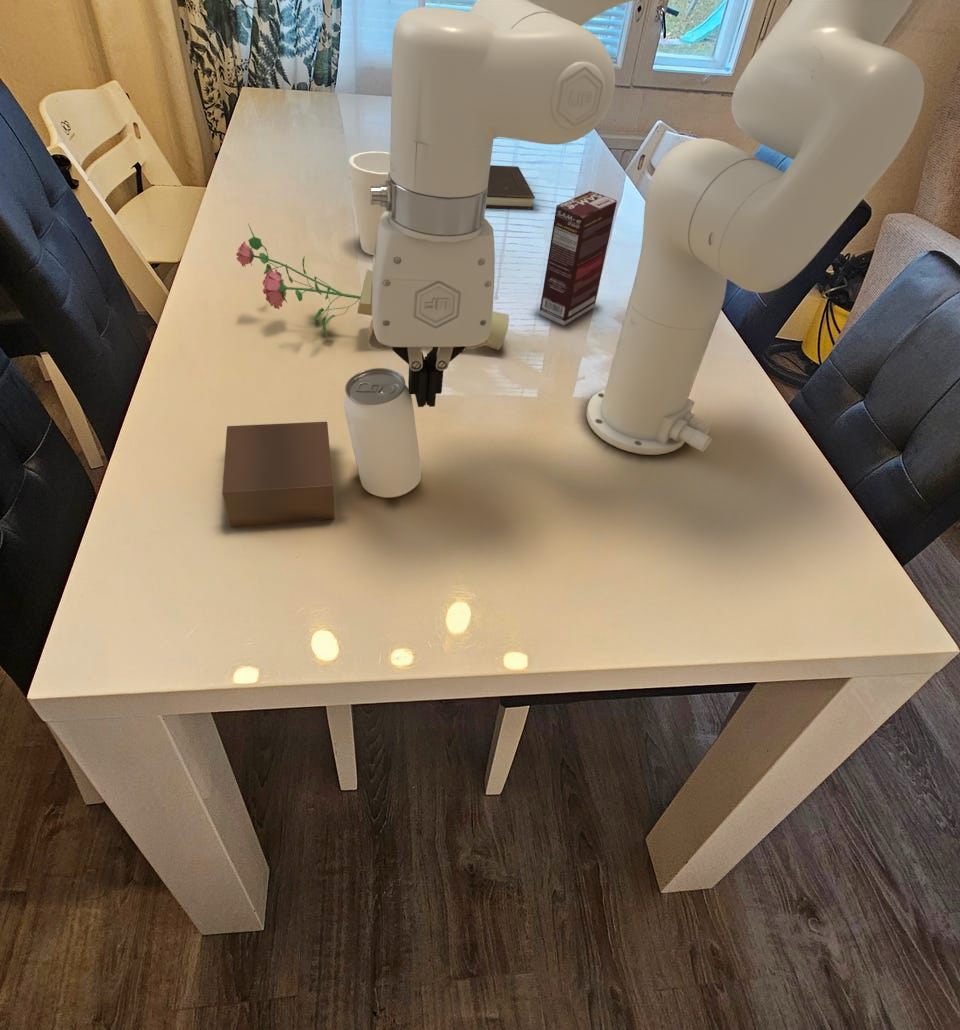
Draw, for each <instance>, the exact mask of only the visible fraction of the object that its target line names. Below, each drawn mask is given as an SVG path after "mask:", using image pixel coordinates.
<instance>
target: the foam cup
mask: <svg viewBox="0 0 960 1030" xmlns="http://www.w3.org/2000/svg"><path fill="white" fill-rule="evenodd" d="M348 173H349V174H348V178H349V180H350V183H351V189H352V197H353V203H354V208H355V215H356V222H357V229H358V234H359V235H358V236H359V242H360V247H361V249H362V251H363V252H364V253H366V254H367V255H371V256H374V250H375V243H376V237H377V232H378V227H379V223H380V219H381V216H382V214H383V213H384V212H385V211H386V208H385V207H381V206H380V205H371V202H370V186H380V184H385V180H388V173H390V152H388V151H373V150H372V151H364V152H358V153H356V154H353V155H351V156H350V157H349V159H348Z"/></svg>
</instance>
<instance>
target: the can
mask: <svg viewBox="0 0 960 1030" xmlns="http://www.w3.org/2000/svg"><path fill="white" fill-rule="evenodd" d="M344 387H345V388H344V391H345V395H344V399H343V407H344V413H345V418H346V421H347V427H348V431H349V436H350V440H351V445H352V449H353V454H354V458H355V462H356V468H357V471H358V475H359V480H360V484H361V486H362V487H363V489H364V490H365V491H366V492H367V493H369V494H370V495H373V496H376V497H379V498H384V499H392V498H398V497H402V496H404V495H406V494H408V493H410V492H411V491H413V490H414V489H415V488H416V487H417V486H418V484H419V483H420V481H421V479H422V465H421V457H420V449H419V443H418V442H419V441H418V433H417V432H418V431H417V425H416V418H415V417H416V416H415V411H414V404H413V403H414V402H413V397H412V394H410V393H409V388H408V385H406V380H405V378H404V376H403V375H402V374H401V373H400V372H398V371H396V370H394V369H392V368H391V369H390V368H385V367H373V368H368V369H364V370H362V371H360V372H357V373H355V374H354V375H352V376H351V377H350V378H349V379H348V380H347V382H346V383H345V386H344Z"/></svg>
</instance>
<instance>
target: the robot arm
mask: <svg viewBox="0 0 960 1030" xmlns="http://www.w3.org/2000/svg"><path fill="white" fill-rule="evenodd" d="M633 1H634V0H476V1H475V2H474V4H473V5H472V7H471V8H470V10H469V11H466V10H462V9H455V8H449V7H439V6H438V7H435V6H434V7H433V6H423V7H415V8H411V9H409V10H405V12H403V14H400V16H399V18H398V20H397V21H396V22H395V25H394V29H393V34H392V47H391V48H392V49H391V51H392V52H391V55H392V56H391V95H390V99H391V101H390V108H391V109H390V147H389V148H390V149H389V153H390V173H388V180H385V184H380V186H370V202H371V205H380V206H381V207H385V208H386V211H385V212H384V213H383V214H382V216H381V219H380V223H379V227H378V232H377V237H376V243H375V250H374V255H373V259H372V269H371V271H372V282H371V314H372V317H371V321H370V325H369V329H368V331H367V339H368V345H369V346H370V347H371V348H374V349H380V350H384V351H393V352H394V353H395V354H396V355H397V356H398V357H399V358H400V359H402V360H403V362H405V363H406V364H407V365H408V378H407V379H408V381H407V382H408V383H407V387H408V389H409V393H410V394H411V395H414V396H415V400H416V405H417V407H418V408H424V407H425V406H428V407H430V408H431V407H433V408H434V407H436V399H437V398H436V397H437V395H440V394H442V393H443V392H442V391H443V380H444V371H446V370H447V369H448V368H449V365H450V363H451V361H453V360H454V359H455V358H456V357H458V356H459V355H460V354H461V353H463V352H464V351H465V350H472V349H476V348H481V347H484V346H485V345H486V344H487V339H488V337H489V334H490V330H491V323H492V313H493V311H494V295H495V293H494V292H495V275H496V274H495V273H496V272H495V269H496V268H495V267H496V263H495V262H496V257H495V256H496V255H495V254H496V252H495V235H494V228H493V226H492V225H491V224H490V222H489V221H488V220H487V218H485V217H486V209H487V208H486V199H487V191H488V180H489V171H490V165H491V163H492V154H493V145H494V139H496V138H503V139H511V140H518V141H524V142H528V143H535V144H542V145H563V144H564V145H565V144H569V143H571V142H575V141H578V140H580V139H582V138H584V137H585V136H587V135H588V134H590V133H591V132H592V131H594V130H595V129H596V128H597V127H598V126H599V125H600V124H601V122H602V121H603V120H604V119H605V116H606V115H607V113H608V112H609V110H610V107H611V105H612V103H613V99H614V95H615V91H616V72H615V68H614V63H613V61H612V58H611V57H612V56H611V55H610V53H609V52H608V50H607V48H606V46H605V45H604V44H603V43H602V41H601V40H600V39H599V38H598V37H597V36H595V34H593V32H591V31H590V30H588V29H587V28H585V27H584V26H583V25H585V24H586V23H587V22H589V21H591V20H592V19H594V18H595V17H597V16H599V15H602V14H603V13H605V12H606V11H607V12H608V10H611V9H613V8H615V7H618V6H621V5H623V4H627V3H629V2H633ZM913 1H914V0H791V2H790V3H789V5H788V6H787V8H786V9H785V11H784V12H783V14H782V15H781V16H780V18H779V19H778V20H777V22H776V23H775V25H774V26H773V27H772V29H771V31H770V32H769V33H768V35H767V36H766V38H765V39H763V40H764V41H762V43H761V45H760V46H759V48H758V49H757V50H756V52H755V54H754V55H752V58H751V59H750V61H749V62H748V64H747V65H746V67H745V69H744V71H743V72H742V73H741V75H740V78H739V79H738V81H737V83H736V85H735V88H734V90H733V92H732V93H733V94H732V96H731V105H730V108H731V110H730V111H731V115H732V117H733V120H734V123H735V124H736V125H737V127H738V128H739V129H740V130H741V131H742V132H743V133H744V134H746V135H747V136H748V137H749V138H751V139H752V140H754V141H756V142H758V143H759V144H761V145H763V146H765V147H767V148H768V149H770V150H773V151H775V152H777V153H779V154H782V155H783V156H785V157H787V158H789V159H791V160H792V161H791V163H790V164H789V166H788V167H787V169H786V170H785V171H782V170H780V169H778V168H776V167H774V166H772V165H770V164H768V163H767V162H766V161H764V160H762V159H760V158H759V157H756V156H755V155H753V154H752V153H748V152H747V151H746V150H742V149H741V148H738V147H737V146H734V145H733V144H730V143H727V142H725V141H722V140H719V139H714V138H710V137H703V138H702V137H698V138H691V139H689V140H685V141H683V142H681V143H679V144H678V145H676V146H674V147H673V148H672V149H670V150H669V151H668V152H667V153H666V154H665V155H664V156H663V158H662V159H661V160H660V161H659V163H658V164H657V166H656V167H655V170H654V171H653V173H652V175H651V179H650V180H649V183H648V187H647V192H646V197H645V202H644V212H643V226H642V238H641V239H642V240H641V247H640V254H639V259H638V264H637V269H636V272H635V277H634V281H633V285H632V289H631V292H630V296H629V299H628V303H627V306H626V309H625V310H626V311H625V314H624V318H623V321H622V325H621V329H620V332H619V337H618V340H617V344H616V347H615V351H614V355H613V359H612V362H611V366H610V370H609V374H608V377H607V381H606V385H605V388H603V389H601V390H600V391H597V392H596V393H595V394H593V396H592V397H591V398H590V399H589V401H588V404H587V407H586V412H585V413H586V415H585V416H586V421H587V422H588V425H589V427H590V428H591V430H592V431H593V432H594V433H595V434H596V435H597V436H598V437H599V438H600V439H602V440H603V441H604V442H606V443H608V444H609V445H611V446H613V447H616V448H618V449H620V450H622V451H625V452H627V453H632V454H638V455H646V456H653V455H656V456H657V455H658V456H659V455H663V454H668V453H670V452H671V453H672V452H674V451H676V450H678V449H680V448H681V447H682V446H683V445H684V444H685V443H686V444H688V445H689V446H691V447H692V448H694V449H697V450H698V451H700V452H703V453H704V452H705V451H706V450H707V448H708V447H709V445H710V443H711V440H712V436H710V435H708V432H709V431H710V429H711V424H709V423H707V422H705V421H703V420H700V419H698V418H696V417H695V416H694V413H692V410H693V408H694V406H695V401H694V400H692V399H690V395H691V392H692V389H693V386H694V383H695V381H696V378H697V375H698V372H699V370H700V367H701V364H702V362H703V360H704V356H705V354H706V351H707V348H708V345H709V343H710V340H711V337H712V335H713V332H714V329H715V327H716V324H717V321H718V320H719V318H720V317H719V316H720V314H721V312H722V308H723V306H724V301H725V298H726V294H727V293H726V292H727V284H728V283H727V282H728V281H730V282H731V283H733V284H734V285H736V286H737V287H739V288H741V289H743V290H745V291H748V292H751V293H756V294H757V293H758V294H762V293H769V292H772V291H773V292H774V291H775V290H778V289H780V288H782V287H783V286H785V285H787V284H788V283H790V282H791V281H792V280H793V279H795V278H796V277H797V276H798V275H799V274H800V273H801V272H803V270H804V269H805V268H806V267H807V266H808V265H809V264H810V262H812V260H813V259H814V258H815V257H816V256H817V254H818V253H819V252H820V251H821V249H822V248H823V247H824V246H825V245H826V244H827V243H828V241H829V240H830V239H831V238H832V236H834V234H835V233H836V232H837V230H839V228H840V227H841V226H842V225H843V224H844V222H845V221H846V220H847V218H848V217H849V216H850V215H851V214H852V213H853V211H855V209H856V208H857V207H858V205H859V204H860V203H861V202H862V201H863V200H864V198H865V197H866V195H867V194H869V192H870V191H871V190H872V188H874V186H875V185H876V183H877V182H878V181H879V180H880V179H881V177H882V176H883V175H884V174H885V173H886V171H887V170H888V169H889V167H890V166H891V165H892V164H893V163H894V161H895V160H896V158H897V157H898V156H899V154H900V152H901V151H902V150H903V148H904V147H905V145H906V144H907V142H908V140H909V138H910V136H911V134H912V132H913V130H914V129H915V126H916V124H917V122H918V119H919V117H920V114H921V109H922V106H923V103H924V97H925V96H924V95H925V83H924V78H923V74H922V72H921V70H920V69H919V67H918V65H917V64H916V63H915V62H914V60H913V59H911V58H909V57H908V56H907V55H905V54H903V53H902V52H900V51H897V50H895V49H893V48H889V47H887V46H883V44H884V42H885V41H886V39H887V38H888V37H889V36H890V34H891V33H892V31H893V30H894V28H895V27H896V26H897V24H898V23H899V21H900V20H901V19H902V18H903V16H904V15H905V13H906V12H907V10H908V9H909V8H910V6H911V4H912V3H913ZM422 348H430V351H429V352H427V353H426V356H425V355H424V353H423V352H422Z"/></svg>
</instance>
